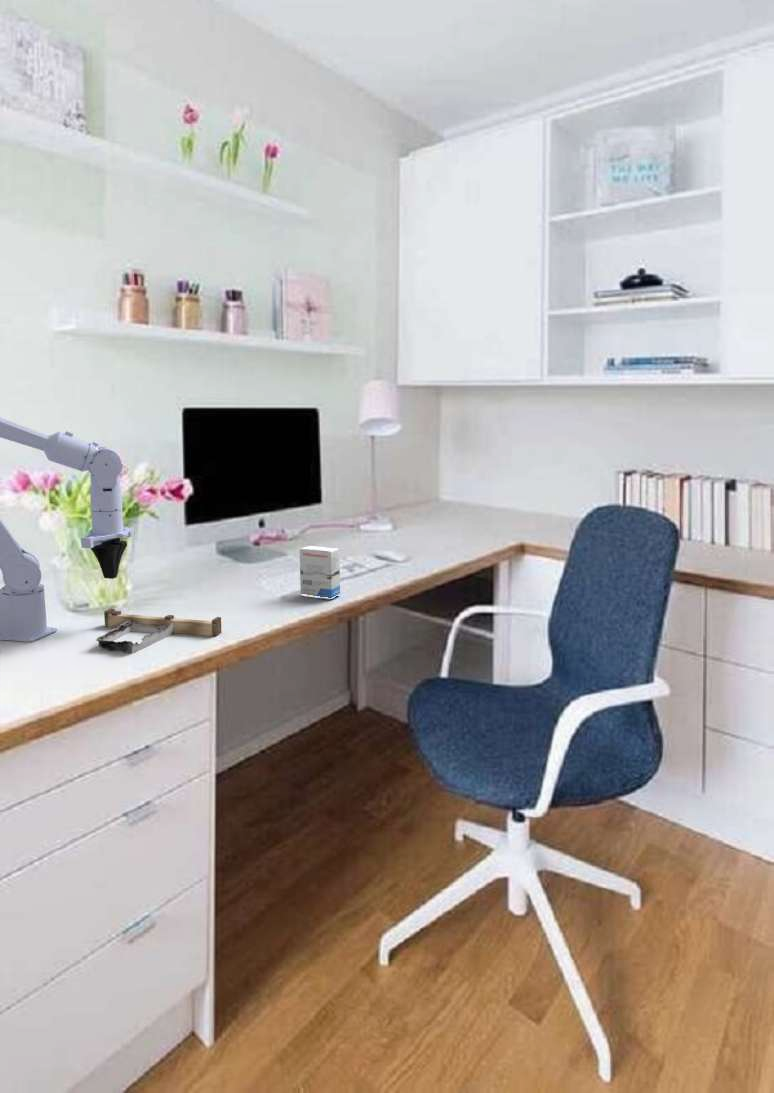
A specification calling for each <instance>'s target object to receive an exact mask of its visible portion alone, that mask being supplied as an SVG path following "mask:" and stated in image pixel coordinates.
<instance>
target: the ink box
mask: <svg viewBox="0 0 774 1093" xmlns="http://www.w3.org/2000/svg"><path fill="white" fill-rule="evenodd" d="M340 564H341V562H340V548H335V547H334V548H333V547H325V546H317V545H316V546H314V545H309V546H304V547H301V548H300V549H299V576H300V577H299V580H300V582H299V583H300V586H299V587H300V588H299V589H300V595H301V594H307V595H313V596H320V597H328V598H332V597H334V596H336V595H338V594H340V595H341V577H340V576H341V574H340V573H341V570H340V568H341V567H340Z"/></svg>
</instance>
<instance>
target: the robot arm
mask: <svg viewBox="0 0 774 1093" xmlns="http://www.w3.org/2000/svg"><path fill="white" fill-rule="evenodd" d="M1 438H2V439H5V440H7V441H10V442H13V443H14V442H15V443H17V444H20V445H24V446H25V447H26V446H27V447H29V448H30V447H31V448H33V449H36V450H39V451H43V453H44V454H45V456H46V458H47V459H48V461H49V462H53V463H55V464H59V465H62V466H65V467H68V468H71V469H74V470H77V471H80V472H82V473H83V472H86V471H88V472H89V473H90V475H89V476H90V486H89V496H90V515H91V531H92V532H90V533H89V534H86V535H85V536H82V537H80V543H81V544H80V545H81V546H80V547H81V549H90V550H91V551H92V553H93V554H94V555H95V557H96V560H97V561H98V562H97V563H98V564H99V567H100V569H101V573H102V576H103V578H104V579H108V580H109V579H112V580H113V579H116V578H118V574H119V570H120V569H119V568H120V564H121V560H122V557H123V554H124V552H125V550H126V549H127V547H128V541H127V540H122V539H125V538H130V537H132V538H133V536H134V528H133V526H124V517H123V500H122V498H123V497H122V495H123V494H122V486H121V476H120V474H122V472H123V467H124V465H123V463H122V460H121V458H120V456H119V455H118V453H116V452H115V451H113V450H111V449H110V448H109V449H108V448H107V447H105V446H100V443H99V442H96V441H93V442H89V441H86V440H83V439H80V438H78V437H75V436H74V433H73V432H71V431H67V430H66V431H65V432H61V431H57V432H55V433H53V434H50V435H49V434H45V433H44V432H43V433H42V432H41V431H37V430H35V429H32V428H29V427H27V426H24V425H21V424H19V423H16V422H13V421H11V420H8V419H5V418H4V417H3V418H2V417H1V416H0V439H1ZM0 570H1V573H2V580H3V583H4V586H1V588H0V640H2V641H12V642H13V641H14V642H22V643H23V642H24V643H32V642H34V641H36V640H39V639H41V638H43V637H46V636H47V635H50V634H52V633H55V632H57V631H58V628H57V627H50V626H49V627H48V624H47V623H48V622H47V610H46V596H45V585H44V584H42V583H40V582H41V579H42V572H41V569H40V563H39V560H38V559H37V557H36V556H35V555H33V554H32V553H30V552H29V551H27V550H25V549H24V547H23V546H22V545H21V544H20V543H19V542H18V540H17V539H16V538H15V537H14V536H13V534H12V533H11V531H10V530H9V529H8V528H7V526H6V525H5V523H4V522H3V520H2V519H1V518H0Z"/></svg>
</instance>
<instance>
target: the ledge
mask: <svg viewBox="0 0 774 1093" xmlns="http://www.w3.org/2000/svg"><path fill="white" fill-rule="evenodd" d="M103 613H104V614H103V615H104V627H105V628H113V629H115V628H117V627H119V626H120V625H121V624H124V623H126V621H130V620H131V623H132V622H135V624H136V623H139V624H141V625H142V626H147V625H153V626H155V627H162V626H169V625H171V623H173V632H172V634H182V635H195V636H207V637H217V636H219V635H220V634H222V616H217V617H215V618H212V619H211V620H201V619H189V618H188V619H187V618H176V617H175V615H174V614H167V615H165V616H152V615H151V616H150V615H140V614H139V615H138V614H127V613H122V610H116V609H115V608H108V609H106V610H104V611H103ZM120 627H121V626H120Z"/></svg>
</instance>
